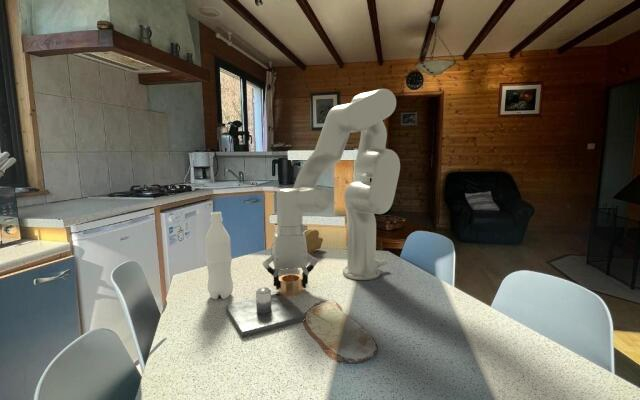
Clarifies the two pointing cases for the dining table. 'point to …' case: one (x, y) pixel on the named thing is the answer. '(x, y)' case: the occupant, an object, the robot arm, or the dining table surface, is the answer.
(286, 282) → the copper ring
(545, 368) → the dining table surface
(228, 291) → the water bottle
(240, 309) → the block
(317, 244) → the wooden carving
